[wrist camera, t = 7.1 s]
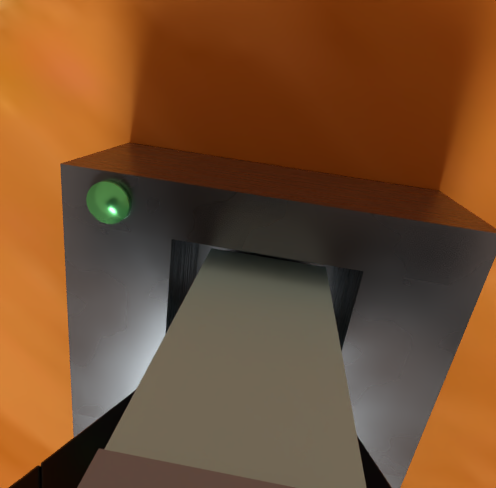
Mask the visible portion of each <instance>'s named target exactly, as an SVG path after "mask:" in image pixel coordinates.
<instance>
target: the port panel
mask: <svg viewBox="0 0 496 488" xmlns="http://www.w3.org/2000/svg"><path fill="white" fill-rule="evenodd" d="M61 184H62V204H63V225H64V246H65V266H66V287H67V307H68V328H69V348H70V369H71V390H72V410H73V431H74V437H75V436H77V435H78V434H79V433H81V432H82V431H83V430H84V429H86V428H87V427H88V426H90V425H91V424H92V423H93V422H95V421H96V420H97V419H99V418H100V417H101V416H102V415H104V414H105V413H106V412H108V411H109V410H110V409H112V408H113V407H114V406H115V405H117V404H118V403H119V402H121V401H122V400H123V399H124V398H126V397H127V396H128V395H130V394H131V393H132V392H133V391H135V390H136V389H137V387H138V385H139V383H140V381H141V380H142V378H143V376H144V374H145V372H146V370H147V368H148V366H149V364H150V363H151V361H152V359H153V357H154V355H155V353H156V351H157V349H158V348H159V346H160V344H161V342H162V340H163V338H164V336H165V334H166V333H167V331H168V329H169V327H170V325H171V323H172V321H173V319H174V317H175V316H176V314H177V312H178V310H179V308H180V306H181V304H182V302H183V301H184V299H185V297H186V295H187V293H188V291H189V289H190V287H191V285H192V284H193V282H194V280H195V278H196V276H197V274H198V272H199V270H200V269H201V267H202V265H203V263H204V261H205V259H206V257H207V255H208V254H209V252H210V250H211V248H214V249H220V250H225V251H231V252H237V253H243V254H249V255H255V256H261V257H267V258H273V259H279V260H285V261H291V262H297V263H303V264H309V265H315V266H320V267H326V270H327V276H328V281H329V287H330V292H331V298H332V303H333V308H334V314H335V319H336V325H337V330H338V336H339V341H340V346H341V352H342V357H343V363H344V368H345V374H346V379H347V384H348V390H349V395H350V401H351V406H352V412H353V417H354V422H355V428H356V433H357V436H358V437H359V439H360V440H361V442H362V443H363V445H364V446H365V448H366V449H367V451H368V452H369V454H370V455H371V457H372V458H373V460H374V461H375V463H376V464H377V466H378V467H379V469H380V470H381V472H382V473H383V475H384V476H385V478H386V479H387V481H388V482H389V484H390V485H391V487H392V488H400V487H401V484H402V482H403V480H404V477H405V475H406V472H407V470H408V467H409V465H410V463H411V460H412V458H413V455H414V453H415V450H416V448H417V446H418V443H419V441H420V438H421V436H422V433H423V431H424V429H425V426H426V424H427V421H428V419H429V416H430V414H431V412H432V409H433V407H434V404H435V402H436V399H437V397H438V395H439V392H440V390H441V387H442V385H443V382H444V380H445V378H446V375H447V373H448V370H449V368H450V365H451V363H452V361H453V358H454V356H455V353H456V351H457V348H458V346H459V344H460V341H461V339H462V336H463V334H464V331H465V329H466V327H467V324H468V322H469V319H470V317H471V314H472V312H473V310H474V307H475V305H476V302H477V300H478V297H479V295H480V293H481V290H482V288H483V285H484V283H485V280H486V278H487V276H488V273H489V271H490V268H491V266H492V263H493V261H494V259H495V256H496V229H495V228H494V227H492V226H491V225H489V224H488V223H486V222H485V221H484V220H482V219H481V218H479V217H478V216H476V215H475V214H473V213H472V212H470V211H469V210H467V209H466V208H464V207H463V206H461V205H460V204H458V203H457V202H455V201H454V200H452V199H451V198H449V197H448V196H446V195H445V194H443V193H442V192H440V191H436V190H430V189H423V188H417V187H411V186H404V185H398V184H391V183H385V182H378V181H372V180H365V179H359V178H353V177H346V176H340V175H333V174H327V173H320V172H314V171H308V170H301V169H295V168H288V167H282V166H275V165H269V164H262V163H256V162H250V161H243V160H237V159H230V158H224V157H217V156H211V155H204V154H198V153H192V152H185V151H179V150H172V149H166V148H159V147H153V146H146V145H140V144H134V143H127V144H123V145H120V146H117V147H114V148H110V149H107V150H104V151H100V152H97V153H94V154H91V155H87V156H84V157H81V158H77V159H74V160H71V161H68V162H64V163H61Z"/></svg>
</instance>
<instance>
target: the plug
mask: <svg viewBox="0 0 496 488" xmlns="http://www.w3.org/2000/svg"><path fill="white" fill-rule="evenodd" d="M77 488H367V487H366V482H365V477H364V471H363V466H362V460H361V455H360V449H359V444H358V439H357V433H356V428H355V422H354V417H353V412H352V406H351V401H350V395H349V390H348V384H347V379H346V374H345V368H344V363H343V357H342V352H341V346H340V341H339V336H338V330H337V325H336V319H335V314H334V308H333V303H332V298H331V292H330V287H329V281H328V276H327V270H326V267H320V266H315V265H309V264H303V263H297V262H291V261H285V260H279V259H273V258H267V257H261V256H255V255H249V254H243V253H237V252H231V251H225V250H220V249H214V248H211V250H210V252H209V254H208V255H207V257H206V259H205V261H204V263H203V265H202V267H201V269H200V270H199V272H198V274H197V276H196V278H195V280H194V282H193V284H192V285H191V287H190V289H189V291H188V293H187V295H186V297H185V299H184V301H183V302H182V304H181V306H180V308H179V310H178V312H177V314H176V316H175V317H174V319H173V321H172V323H171V325H170V327H169V329H168V331H167V333H166V334H165V336H164V338H163V340H162V342H161V344H160V346H159V348H158V349H157V351H156V353H155V355H154V357H153V359H152V361H151V363H150V364H149V366H148V368H147V370H146V372H145V374H144V376H143V378H142V380H141V381H140V383H139V385H138V387H137V389H136V391H135V393H134V395H133V396H132V398H131V400H130V402H129V404H128V406H127V408H126V410H125V412H124V413H123V415H122V417H121V419H120V421H119V423H118V425H117V427H116V428H115V430H114V432H113V434H112V436H111V438H110V440H109V442H108V443H107V445H106V447H105V449H98V451H97V453H96V454H95V456H94V458H93V460H92V462H91V464H90V465H89V467H88V469H87V471H86V473H85V474H84V476H83V478H82V480H81V482H80V484H79V485H78V487H77Z"/></svg>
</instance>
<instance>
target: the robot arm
mask: <svg viewBox="0 0 496 488" xmlns="http://www.w3.org/2000/svg"><path fill="white" fill-rule="evenodd" d="M135 391H136V390H135ZM135 391H133V392H132V393H131V394H130V395H128V396H127V397H126V398H124V399H123V400H122V401H121V402H119V403H118V404H117V405H115V406H114V407H113V408H112V409H110V410H109V411H108V412H106V413H105V414H104V415H102V416H101V417H100V418H99V419H97V420H96V421H95V422H93V423H92V424H91V425H90V426H88V427H87V428H86V429H84V430H83V431H82V432H81V433H79V434H78V435H77V436H75V437H74V438H73V439H71V440H70V441H69V442H68V443H66V444H65V445H64V446H62V447H61V448H60V449H59V450H57V451H56V452H55V453H53V454H52V455H51V456H50V457H48V458H47V459H46V460H44V461H43V462H42V463H41V467H40V466H36V467H35V468H34V469H32V470H31V471H30V472H29V473H27V474H26V475H25V476H23V477H22V478H21V479H19V480H18V481H17V482H15V483H14V484H13V485H11V486H10V487H9V488H77V487H78V485H79V484H80V482H81V480H82V478H83V476H84V474H85V473H86V471H87V469H88V467H89V465H90V464H91V462H92V460H93V458H94V456H95V454H96V453H97V451H98V449H105V447H106V445H107V443H108V442H109V440H110V438H111V436H112V434H113V432H114V430H115V428H116V427H117V425H118V423H119V421H120V419H121V417H122V415H123V413H124V412H125V410H126V408H127V406H128V404H129V402H130V400H131V398H132V396H133V395H134V393H135ZM357 439H358V444H359V449H360V455H361V460H362V466H363V471H364V477H365V482H366V487H367V488H392V487H391V485H390V484H389V482H388V481H387V479H386V478H385V476H384V475H383V473H382V472H381V470H380V469H379V467H378V466H377V464H376V463H375V461H374V460H373V458H372V457H371V455H370V454H369V452H368V451H367V449H366V448H365V446H364V445H363V443H362V442H361V440H360V439H359V437H358V436H357Z"/></svg>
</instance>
